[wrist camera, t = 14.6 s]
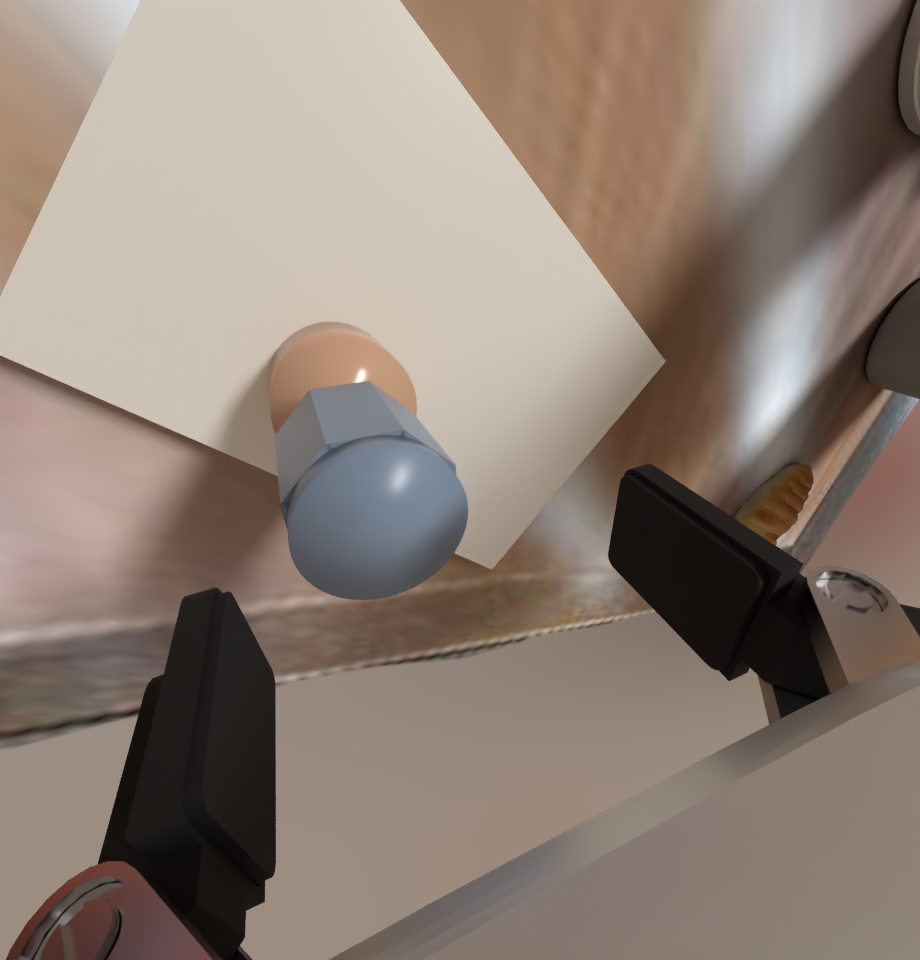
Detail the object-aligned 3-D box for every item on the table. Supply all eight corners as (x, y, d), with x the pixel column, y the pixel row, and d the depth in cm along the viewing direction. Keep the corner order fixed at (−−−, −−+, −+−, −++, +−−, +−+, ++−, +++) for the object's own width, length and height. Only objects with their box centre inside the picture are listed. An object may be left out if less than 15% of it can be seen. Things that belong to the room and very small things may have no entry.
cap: (335, 355, 16) (367, 412, 11) (438, 432, 19) (499, 501, 14) (251, 467, 17) (247, 566, 12) (364, 523, 20) (398, 617, 15)
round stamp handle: (418, 369, 23) (512, 456, 15) (353, 460, 25) (405, 590, 16) (313, 292, 20) (356, 346, 11) (243, 404, 21) (231, 532, 12)
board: (655, 358, 31) (665, 361, 30) (486, 561, 34) (491, 569, 34) (243, -188, 13) (241, -214, 13) (-10, 339, 17) (-23, 345, 16)
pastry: (784, 450, 44) (823, 467, 41) (804, 471, 48) (842, 487, 45) (723, 522, 46) (756, 543, 43) (747, 536, 50) (779, 557, 47)
